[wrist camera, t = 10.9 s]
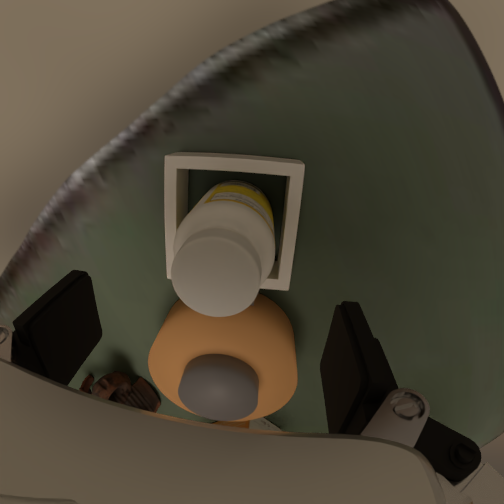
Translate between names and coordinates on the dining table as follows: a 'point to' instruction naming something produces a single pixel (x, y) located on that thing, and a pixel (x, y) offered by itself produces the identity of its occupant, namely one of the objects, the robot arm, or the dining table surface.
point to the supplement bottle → (224, 249)
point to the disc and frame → (230, 327)
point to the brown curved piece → (123, 391)
